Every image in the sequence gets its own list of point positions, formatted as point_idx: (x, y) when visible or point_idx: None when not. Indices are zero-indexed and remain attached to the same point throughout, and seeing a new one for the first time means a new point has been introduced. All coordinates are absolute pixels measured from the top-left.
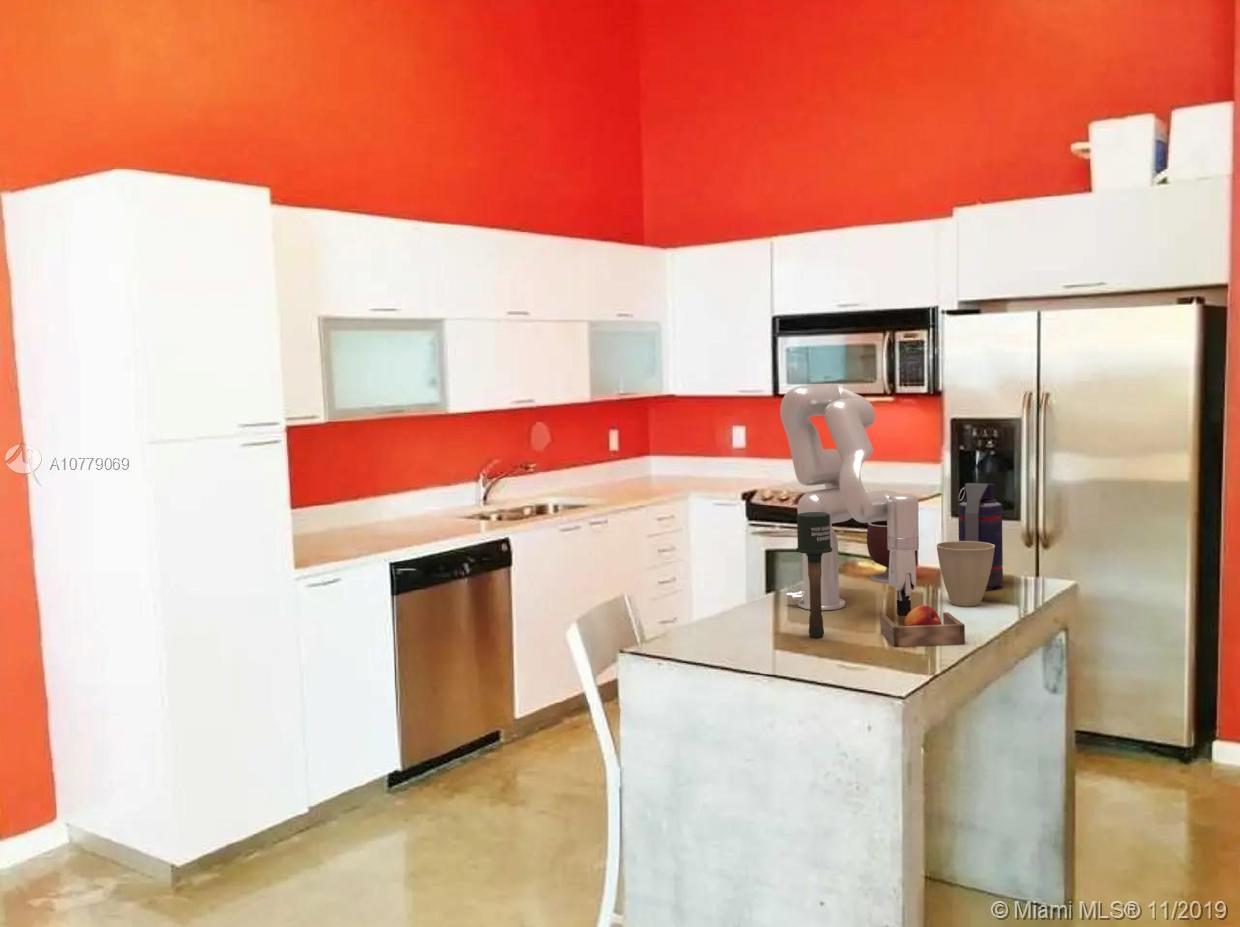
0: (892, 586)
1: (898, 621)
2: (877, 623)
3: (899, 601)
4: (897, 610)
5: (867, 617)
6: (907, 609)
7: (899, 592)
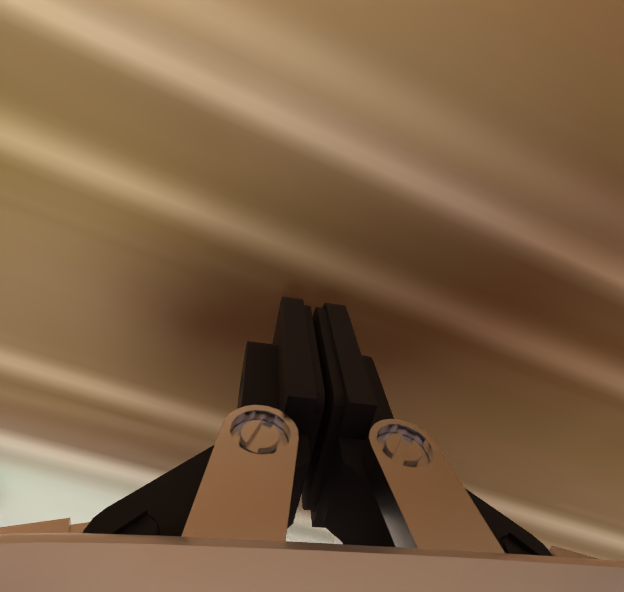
0: (386, 561)
1: (353, 292)
2: (356, 80)
3: (282, 404)
4: (328, 325)
5: (620, 91)
6: (238, 406)
7: (233, 524)
